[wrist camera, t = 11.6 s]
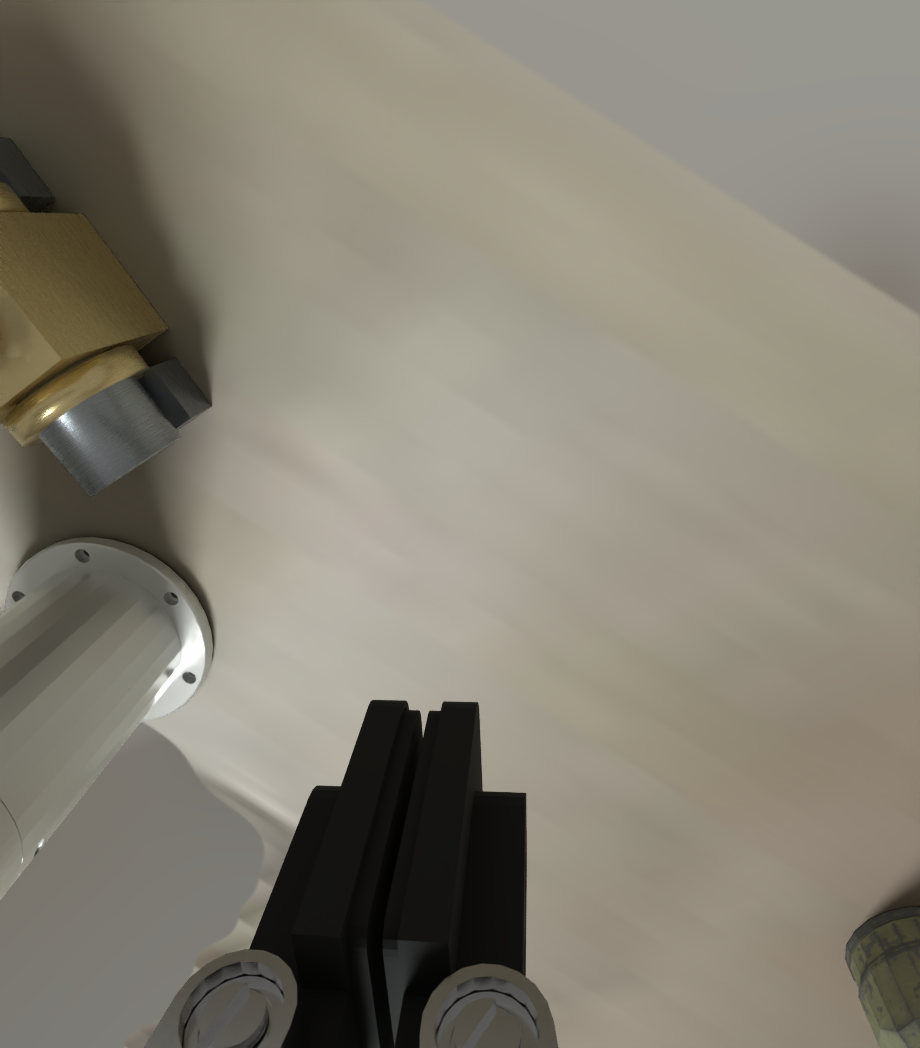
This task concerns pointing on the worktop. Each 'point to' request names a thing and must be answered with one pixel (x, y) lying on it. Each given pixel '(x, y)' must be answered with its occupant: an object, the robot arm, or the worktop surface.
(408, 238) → the worktop surface
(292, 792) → the worktop surface
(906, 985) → the green piece
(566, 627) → the worktop surface
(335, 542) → the worktop surface
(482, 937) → the robot arm
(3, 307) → the ball valve
